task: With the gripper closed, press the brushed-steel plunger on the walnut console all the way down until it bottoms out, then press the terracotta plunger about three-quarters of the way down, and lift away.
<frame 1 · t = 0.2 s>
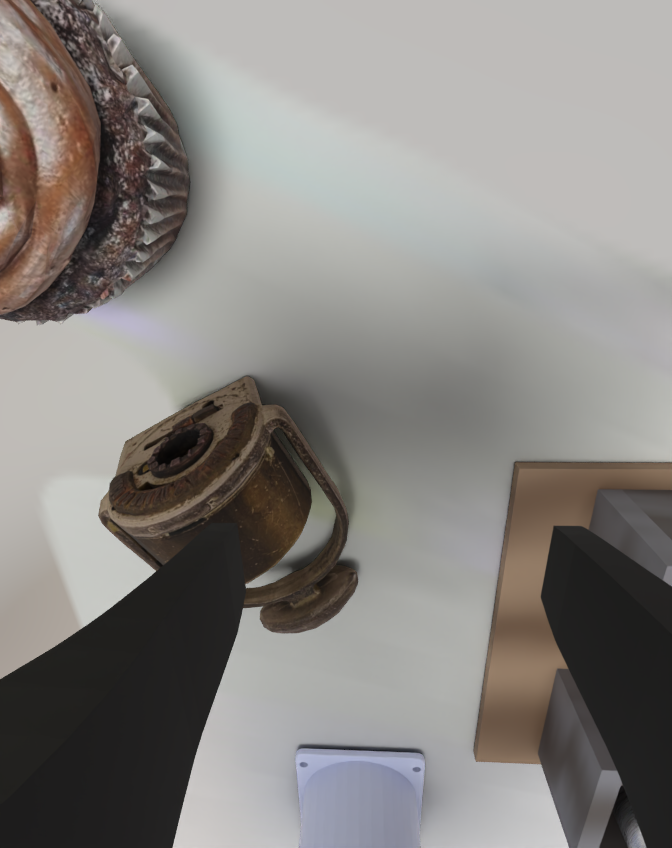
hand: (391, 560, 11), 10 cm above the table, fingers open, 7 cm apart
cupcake: (86, 170, 17), on the table
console: (627, 633, 24), on the table
brown piece: (256, 498, 22), on the table
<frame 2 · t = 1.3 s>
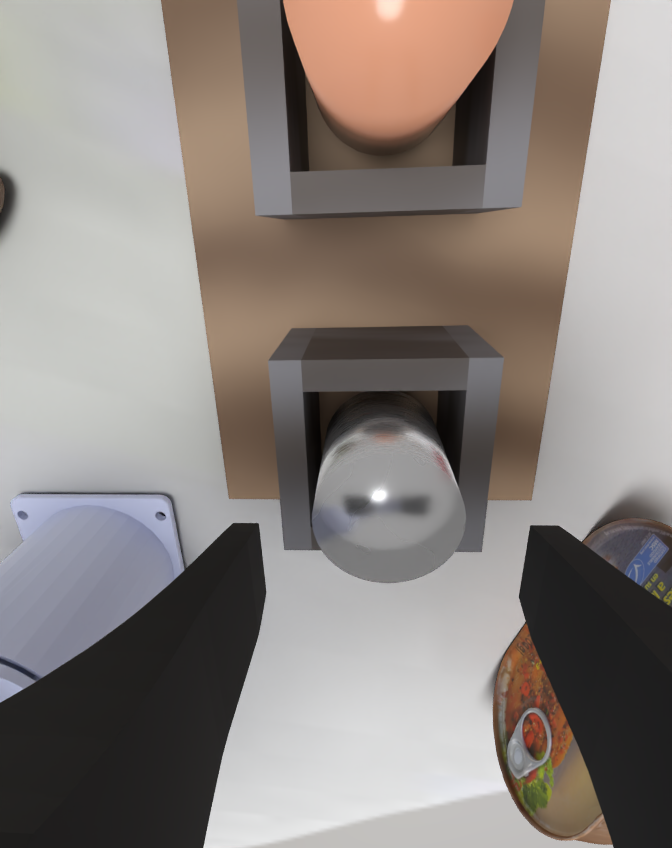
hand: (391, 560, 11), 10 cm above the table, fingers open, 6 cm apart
tin: (565, 604, 24), on the table
steel plunger: (383, 475, 14), point 6 cm above the table, slide at 0.0 cm
terracotta plunger: (390, 34, 10), point 6 cm above the table, slide at 0.0 cm
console: (378, 272, 18), on the table
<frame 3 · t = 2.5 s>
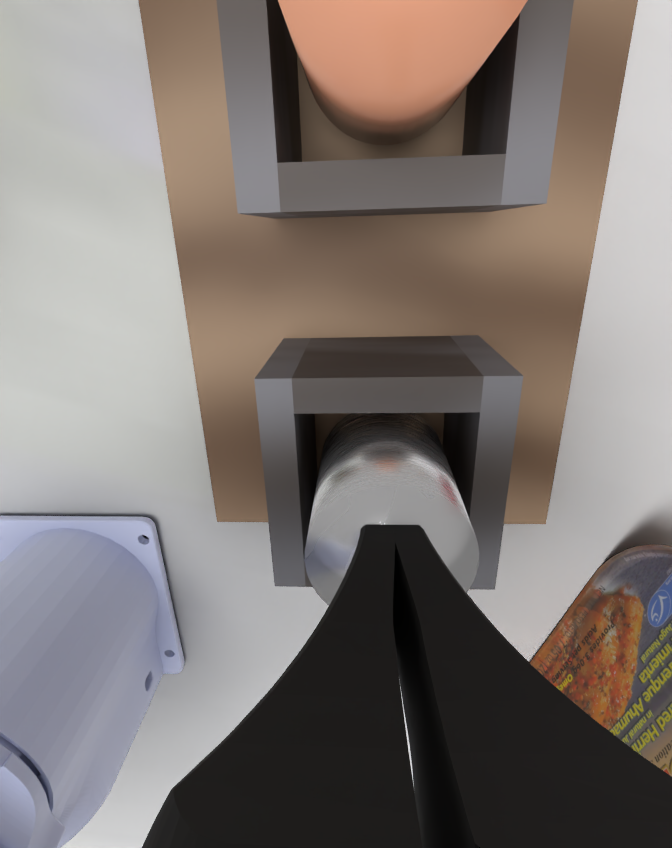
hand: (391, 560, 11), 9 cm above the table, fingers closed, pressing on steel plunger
tin: (580, 632, 23), on the table
steel plunger: (385, 502, 13), point 6 cm above the table, slide at 0.3 cm, touching gripper
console: (379, 277, 16), on the table
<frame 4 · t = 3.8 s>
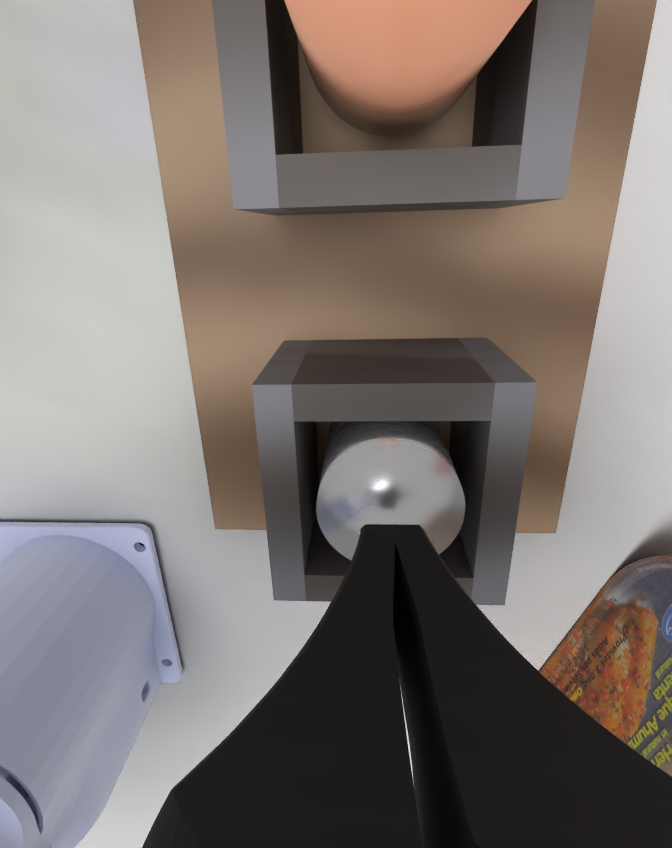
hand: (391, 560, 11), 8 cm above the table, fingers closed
tin: (589, 643, 22), on the table
steel plunger: (385, 466, 15), point 3 cm above the table, slide at 3.0 cm
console: (384, 276, 16), on the table
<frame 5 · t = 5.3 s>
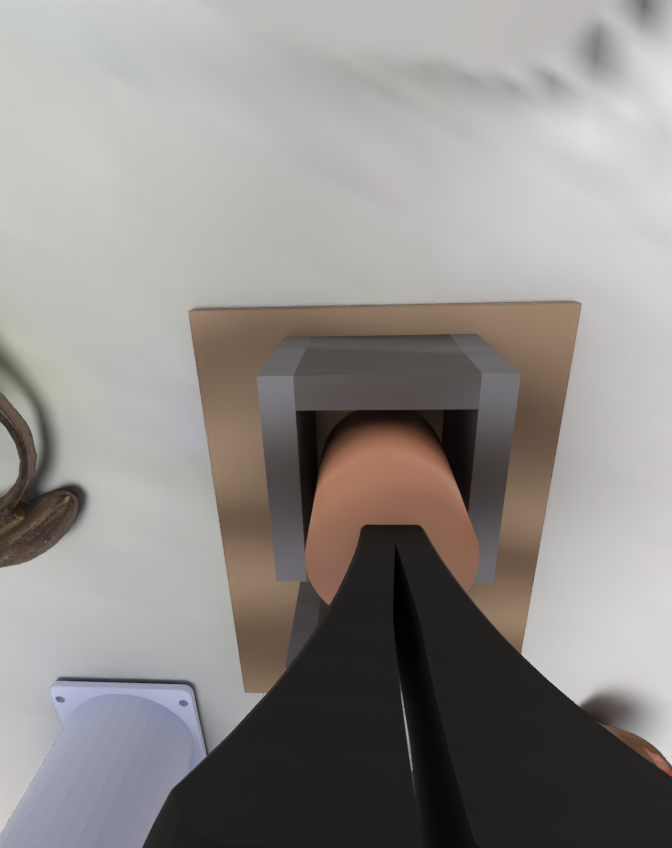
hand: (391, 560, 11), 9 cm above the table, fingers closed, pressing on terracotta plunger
tin: (545, 769, 27), on the table
steel plunger: (379, 683, 20), point 3 cm above the table, slide at 3.0 cm
terracotta plunger: (385, 502, 13), point 6 cm above the table, slide at 0.1 cm, touching gripper
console: (377, 530, 21), on the table
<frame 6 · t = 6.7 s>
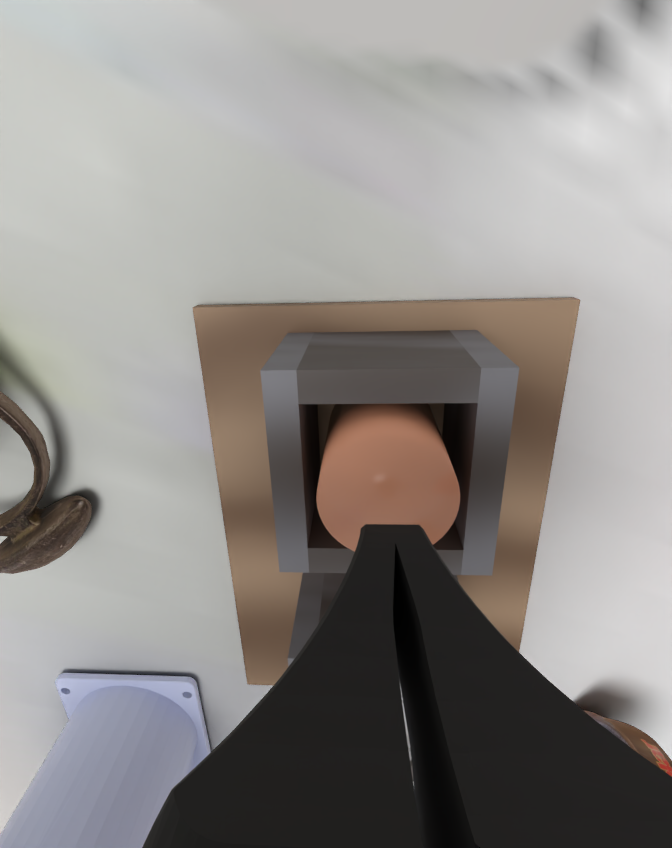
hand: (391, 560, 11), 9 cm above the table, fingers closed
tin: (544, 761, 27), on the table
steel plunger: (379, 675, 20), point 3 cm above the table, slide at 3.0 cm
terracotta plunger: (383, 459, 15), point 4 cm above the table, slide at 2.2 cm
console: (378, 524, 21), on the table
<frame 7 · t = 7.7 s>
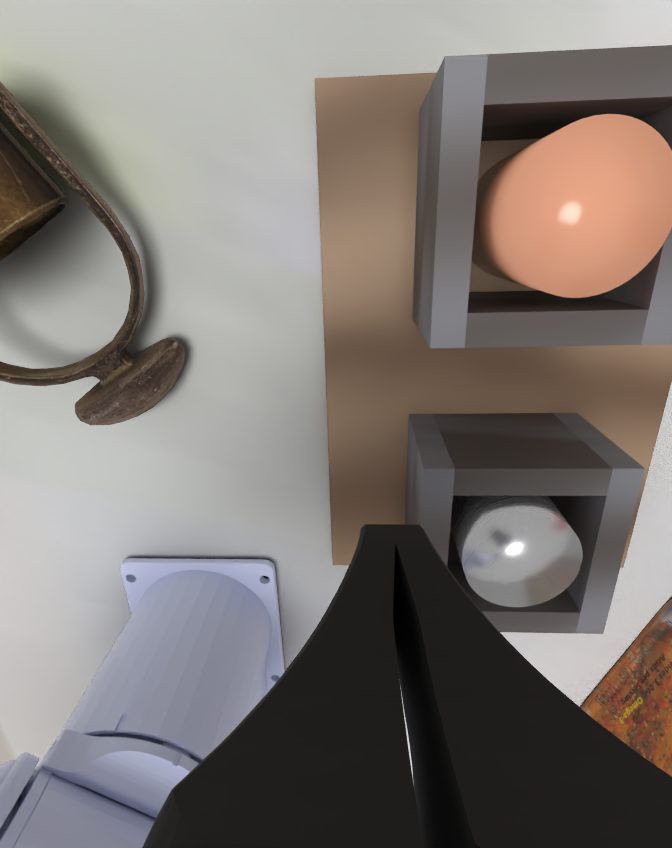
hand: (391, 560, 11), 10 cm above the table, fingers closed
tin: (644, 659, 25), on the table
steel plunger: (501, 521, 18), point 3 cm above the table, slide at 3.0 cm
terracotta plunger: (550, 216, 13), point 4 cm above the table, slide at 2.2 cm
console: (493, 363, 19), on the table
brown piece: (53, 271, 19), on the table
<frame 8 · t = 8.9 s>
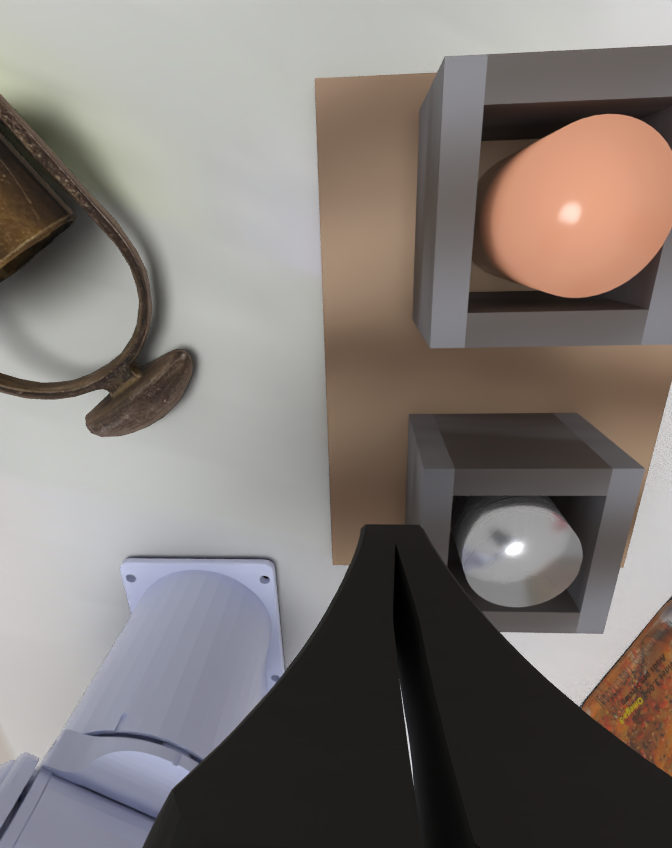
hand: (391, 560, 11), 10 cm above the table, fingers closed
tin: (644, 659, 25), on the table
steel plunger: (501, 521, 18), point 3 cm above the table, slide at 3.0 cm
terracotta plunger: (550, 216, 13), point 4 cm above the table, slide at 2.2 cm
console: (493, 363, 19), on the table
brown piece: (61, 285, 19), on the table
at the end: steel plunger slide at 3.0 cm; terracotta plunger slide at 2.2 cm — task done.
